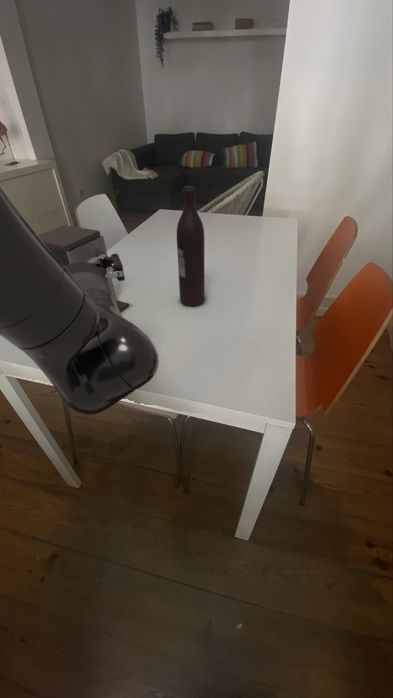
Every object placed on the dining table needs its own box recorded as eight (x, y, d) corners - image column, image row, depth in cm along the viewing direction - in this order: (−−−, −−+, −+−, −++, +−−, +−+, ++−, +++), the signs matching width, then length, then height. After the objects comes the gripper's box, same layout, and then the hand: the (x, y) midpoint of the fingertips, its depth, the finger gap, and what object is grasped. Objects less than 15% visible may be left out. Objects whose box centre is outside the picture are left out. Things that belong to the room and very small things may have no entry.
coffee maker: (130, 305, 91) (118, 233, 78) (102, 326, 82) (84, 250, 70) (82, 292, 97) (64, 224, 85) (52, 310, 89) (27, 238, 77)
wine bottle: (187, 293, 96) (183, 182, 77) (208, 298, 93) (209, 185, 75) (175, 303, 91) (168, 188, 72) (197, 309, 88) (195, 191, 70)
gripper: (131, 264, 45) (109, 230, 57) (22, 283, 41) (23, 243, 52) (138, 309, 49) (116, 270, 61) (41, 331, 45) (37, 284, 57)
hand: (73, 257), depth 57 cm, fingers open, 8 cm apart
